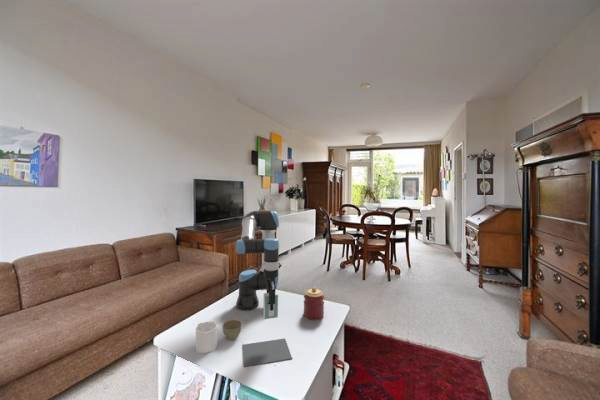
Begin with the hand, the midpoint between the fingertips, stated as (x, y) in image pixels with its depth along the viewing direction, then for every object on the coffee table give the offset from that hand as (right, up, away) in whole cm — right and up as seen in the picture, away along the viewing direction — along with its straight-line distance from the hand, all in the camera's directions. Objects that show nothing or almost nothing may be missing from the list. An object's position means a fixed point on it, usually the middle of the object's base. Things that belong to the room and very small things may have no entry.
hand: (270, 314), depth 126 cm
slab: (0, -2, 0) cm, 2 cm away
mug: (-32, -15, -3) cm, 36 cm away
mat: (-1, -15, -7) cm, 17 cm away
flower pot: (-21, -15, +4) cm, 26 cm away
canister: (+24, -15, +30) cm, 41 cm away
